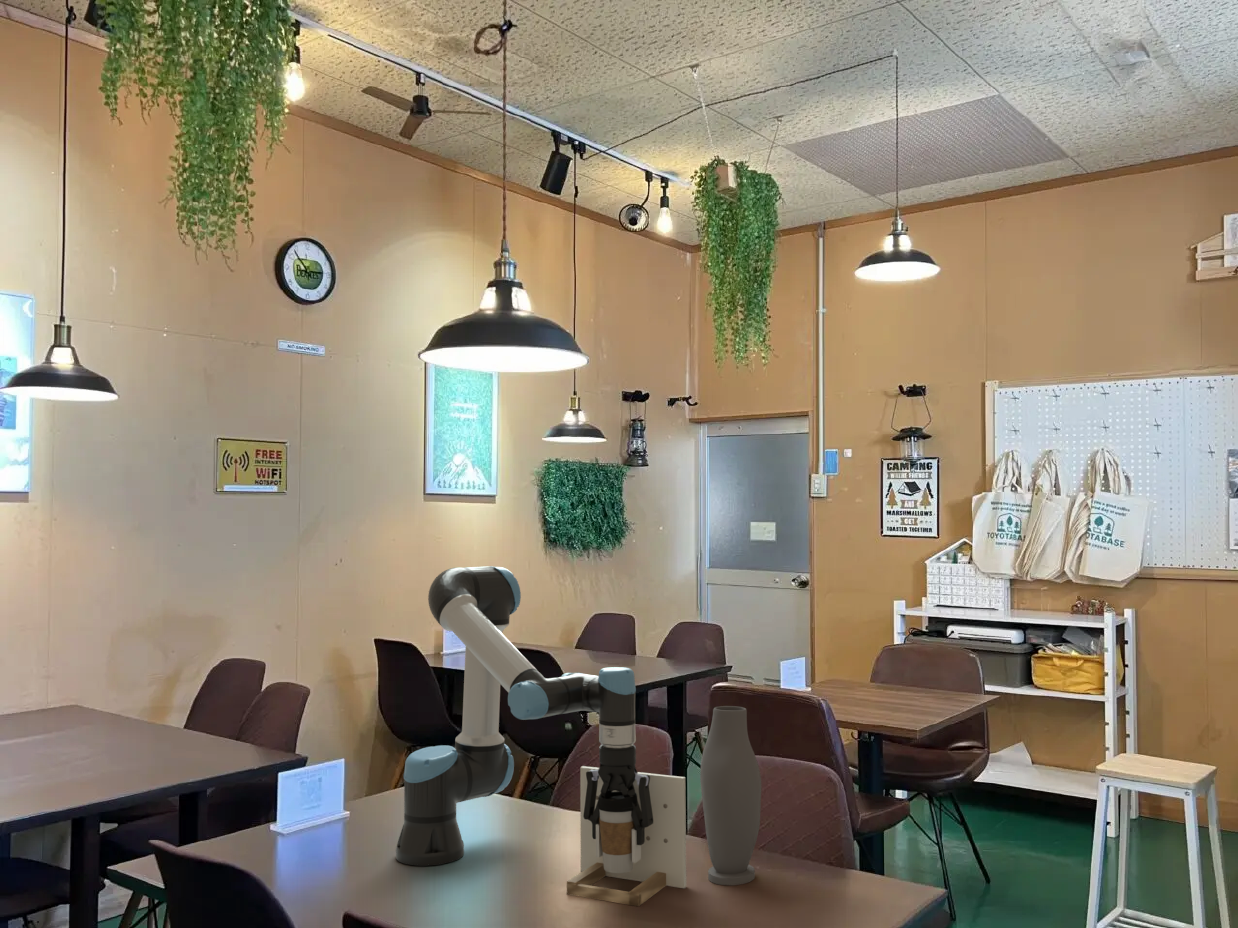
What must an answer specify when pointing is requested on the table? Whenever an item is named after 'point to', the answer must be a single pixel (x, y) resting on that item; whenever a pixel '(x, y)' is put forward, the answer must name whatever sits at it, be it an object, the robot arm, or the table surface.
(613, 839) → the coffee cup
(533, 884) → the table surface
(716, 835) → the vase
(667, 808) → the wall board
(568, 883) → the wooden tray
